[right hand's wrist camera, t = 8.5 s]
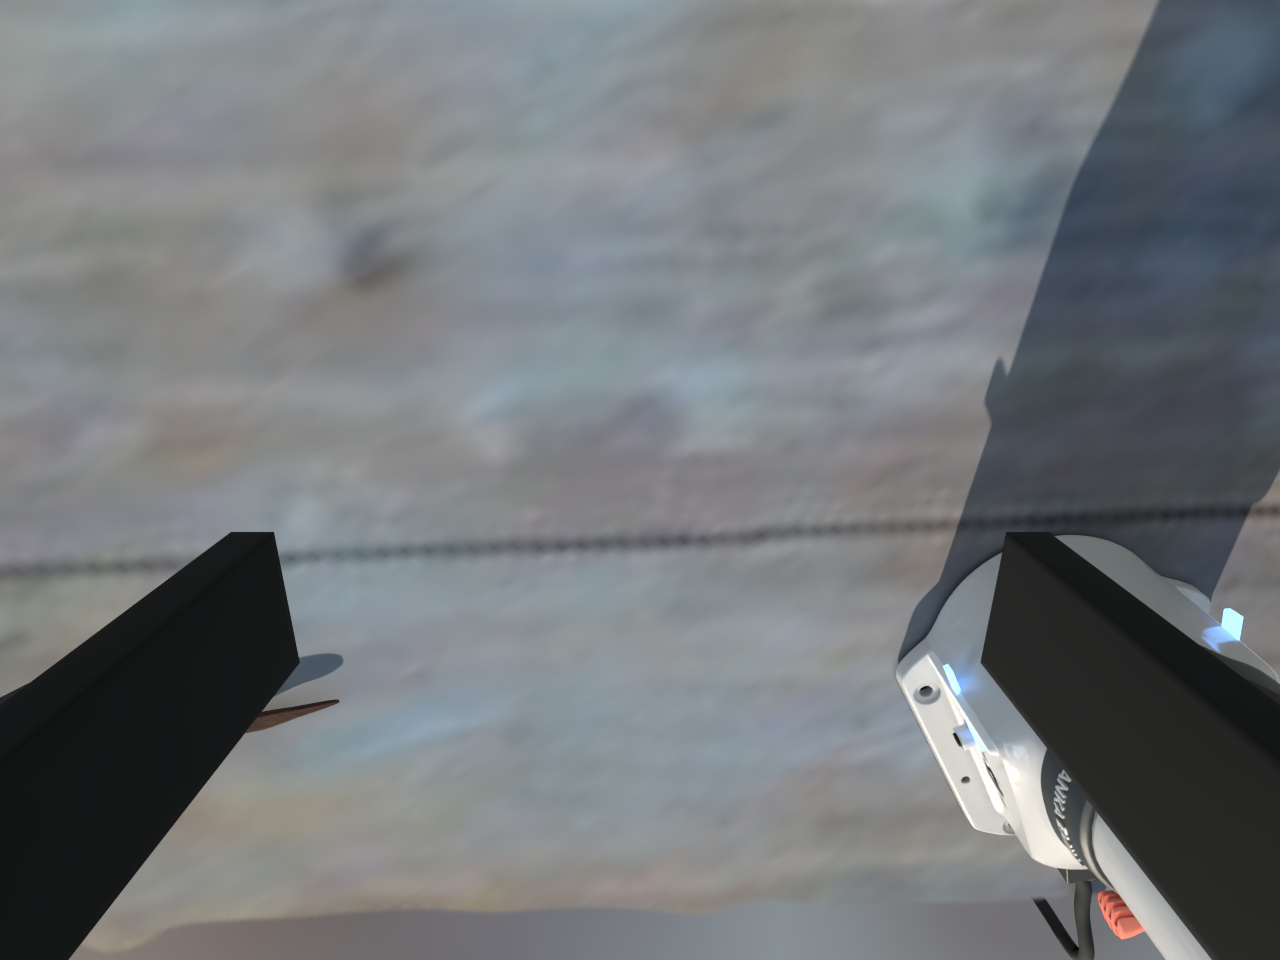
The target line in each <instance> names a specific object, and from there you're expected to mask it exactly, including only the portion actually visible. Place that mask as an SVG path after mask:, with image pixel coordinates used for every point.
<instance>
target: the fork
mask: <svg viewBox="0 0 1280 960" xmlns="http://www.w3.org/2000/svg"><path fill="white" fill-rule="evenodd" d="M337 703H339V700H329V701H323V702H317V703H312V704H306V705H301V706H295V707H289V708H283V709H276V710H270V711H264V712H261V713H260V714H259V716H258V717H257V718H256V719H255V721H254V722H253V723H252V725H251V726H250V727H249V728H248V730H247V731H246V732H245V733H250V732H255V731H260V730H264V729H267V728H270V727H273V726H276V725H279V724H281V723H284V722H287V721H290V720H292V719H295V718H298V717H301V716H304V715H306V714H309V713H312V712H315V711H318V710H321V709H324V708H327V707H329V706H332V705H335V704H337Z"/></svg>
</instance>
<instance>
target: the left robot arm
mask: <svg viewBox="0 0 1280 960" xmlns="http://www.w3.org/2000/svg"><path fill="white" fill-rule="evenodd" d="M1055 537H1056V538H1057V539H1059V540H1060V541H1061V542H1063V543H1064V544H1065V545H1067V546H1068V547H1069V548H1071V549H1072V550H1073V551H1075V552H1076V553H1077V554H1079V555H1080V556H1081V557H1083V558H1084V559H1085V560H1087V561H1088V562H1089V563H1091V564H1092V565H1093V566H1095V567H1096V568H1097V569H1099V570H1100V571H1101V572H1103V573H1104V574H1105V575H1107V576H1108V577H1110V578H1111V579H1112V580H1114V581H1115V582H1116V583H1118V584H1119V585H1120V586H1122V587H1123V588H1124V589H1126V590H1127V591H1128V592H1130V593H1131V594H1132V595H1134V596H1135V597H1136V598H1138V599H1139V600H1140V601H1142V602H1143V603H1144V604H1146V605H1147V606H1148V607H1150V608H1151V609H1152V610H1154V611H1155V612H1156V613H1158V614H1159V615H1160V616H1162V617H1163V618H1164V619H1166V620H1167V621H1168V622H1170V623H1171V624H1172V625H1174V626H1175V627H1176V628H1178V629H1179V630H1180V631H1182V632H1183V633H1184V634H1186V635H1187V636H1188V637H1190V638H1191V639H1192V640H1194V641H1195V642H1196V643H1198V644H1199V645H1200V646H1202V647H1203V648H1204V649H1206V650H1207V651H1208V652H1210V653H1211V654H1212V655H1214V656H1215V657H1216V658H1218V659H1219V660H1220V661H1222V662H1223V663H1224V664H1226V665H1227V666H1228V667H1230V668H1231V669H1232V670H1234V671H1235V672H1236V673H1238V674H1239V675H1240V676H1242V677H1243V678H1244V679H1246V680H1252V681H1254V682H1256V683H1258V684H1260V685H1262V686H1264V687H1266V688H1268V689H1270V690H1272V691H1274V692H1276V693H1278V694H1280V678H1279V676H1278V675H1277V673H1276V672H1275V671H1274V670H1273V668H1272V667H1270V666H1269V665H1268V664H1267V663H1266V662H1265V661H1264V660H1262V659H1261V658H1260V657H1259V656H1258V655H1257V654H1255V653H1254V652H1253V651H1252V650H1251V649H1250V648H1248V647H1247V646H1246V645H1245V644H1244V643H1243V642H1241V641H1240V640H1239V639H1240V634H1241V628H1242V622H1243V616H1241V615H1239V614H1238V613H1236V612H1235V611H1233V610H1232V609H1230V608H1229V609H1224V613H1223V619H1222V625H1221V624H1220V623H1219V622H1218V621H1216V620H1215V619H1214V618H1213V617H1212V616H1211V615H1210V611H1211V603H1210V600H1209V599H1208V598H1207V597H1206V596H1205V595H1204V594H1203V593H1202V592H1201V591H1199V590H1198V589H1197V588H1196V587H1194V586H1192V585H1190V584H1188V583H1185V582H1182V581H1178V580H1175V579H1171V578H1167V577H1163V576H1161V575H1159V574H1157V573H1156V572H1155V571H1153V570H1152V569H1151V568H1150V567H1149V566H1148V565H1147V564H1145V563H1144V562H1143V561H1142V560H1141V559H1140V558H1139V557H1138V556H1136V555H1135V554H1134V553H1132V552H1131V551H1129V550H1128V549H1126V548H1124V547H1122V546H1120V545H1118V544H1116V543H1113V542H1111V541H1108V540H1105V539H1101V538H1097V537H1091V536H1083V535H1059V536H1055ZM1001 556H1002V553H1000V554H998V555H996V556H994V557H993V558H991V559H989V560H988V561H986V562H985V563H983V564H982V565H981V566H979V567H978V568H977V569H975V570H974V571H973V572H972V573H971V574H970V575H968V576H967V577H966V578H965V579H964V580H963V581H962V582H961V583H960V584H959V586H958V587H957V588H956V589H955V590H954V591H953V593H952V594H951V595H950V597H949V598H948V600H947V601H946V603H945V604H944V606H943V608H942V609H941V611H940V613H939V615H938V617H937V619H936V621H935V623H934V625H933V627H932V629H931V631H930V632H929V634H928V635H927V636H926V638H925V639H924V640H922V641H921V642H920V643H919V644H918V645H917V646H916V647H914V648H913V649H912V650H911V651H910V652H909V653H908V654H907V655H906V656H905V657H904V658H903V659H902V660H901V662H900V663H899V664H898V666H897V669H896V677H897V680H898V682H899V684H900V686H901V688H902V690H903V692H904V694H905V696H906V698H907V700H908V702H909V704H910V706H911V708H912V710H913V712H914V714H915V716H916V718H917V720H918V722H919V724H920V726H921V728H922V730H923V732H924V734H925V736H926V738H927V740H928V742H929V744H930V746H931V748H932V750H933V752H934V754H935V756H936V758H937V760H938V762H939V764H940V766H941V768H942V770H943V772H944V774H945V776H946V778H947V780H948V782H949V784H950V786H951V788H952V790H953V792H954V794H955V796H956V798H957V800H958V802H959V804H960V806H961V808H962V810H963V812H964V814H965V816H966V817H967V818H968V820H969V821H970V823H971V824H972V826H973V827H974V828H975V829H977V830H980V831H984V832H988V833H993V834H1001V835H1017V837H1018V838H1019V840H1020V841H1021V843H1022V845H1023V846H1024V848H1025V849H1026V851H1027V852H1028V853H1029V855H1030V856H1031V857H1032V858H1033V859H1035V860H1036V861H1038V862H1040V863H1042V864H1045V865H1048V866H1051V867H1055V868H1058V870H1059V871H1060V873H1061V874H1062V876H1063V878H1064V879H1065V881H1066V882H1067V883H1068V884H1069V883H1075V882H1076V891H1075V898H1074V912H1075V921H1076V927H1077V934H1078V941H1079V947H1078V946H1077V945H1076V944H1075V943H1074V941H1073V940H1072V938H1071V937H1070V935H1069V934H1068V932H1067V931H1066V929H1065V928H1064V926H1063V925H1062V923H1061V922H1060V920H1059V918H1058V917H1057V915H1056V914H1055V912H1054V911H1053V909H1052V908H1051V906H1050V905H1049V903H1048V902H1047V900H1046V899H1045V898H1036V899H1032V900H1033V901H1034V903H1035V904H1036V906H1037V907H1038V909H1039V910H1040V912H1041V913H1042V915H1043V917H1044V918H1045V920H1046V921H1047V923H1048V924H1049V926H1050V928H1051V929H1052V931H1053V933H1054V934H1055V936H1056V938H1057V939H1058V941H1059V942H1060V944H1061V945H1062V947H1063V948H1064V950H1065V951H1066V952H1067V954H1068V955H1069V956H1070V957H1071V958H1072V959H1073V960H1093V959H1094V943H1093V936H1092V930H1091V922H1090V903H1091V895H1092V887H1091V881H1094V880H1096V879H1099V880H1100V881H1101V882H1102V883H1104V884H1105V885H1106V886H1107V887H1108V888H1110V889H1111V890H1113V891H1103V892H1099V893H1098V901H1099V905H1100V908H1101V910H1102V912H1103V915H1104V917H1105V919H1106V921H1107V922H1108V924H1109V926H1110V927H1111V929H1112V930H1113V931H1114V933H1115V934H1116V935H1117V936H1119V937H1120V938H1121V939H1125V938H1129V937H1131V936H1134V935H1136V934H1138V933H1141V932H1144V931H1146V933H1147V934H1148V936H1149V937H1150V938H1151V940H1152V941H1153V943H1154V944H1155V945H1156V947H1157V948H1158V949H1159V951H1160V952H1161V954H1162V955H1163V956H1164V958H1165V959H1166V960H1211V958H1210V957H1209V956H1208V954H1207V953H1206V952H1205V951H1204V949H1203V948H1202V947H1201V945H1200V944H1199V943H1198V942H1197V940H1196V939H1195V938H1194V936H1193V935H1192V934H1191V933H1190V931H1189V930H1188V929H1187V927H1186V926H1185V925H1184V924H1183V922H1182V921H1181V920H1180V918H1179V917H1178V916H1177V915H1176V913H1175V912H1174V911H1173V909H1172V908H1171V907H1170V906H1169V904H1168V903H1167V902H1166V900H1165V899H1164V898H1163V897H1162V895H1161V894H1160V893H1159V891H1158V890H1157V889H1156V888H1155V886H1154V885H1153V884H1152V883H1151V881H1150V880H1149V879H1148V877H1147V876H1146V875H1145V874H1144V872H1143V871H1142V870H1141V868H1140V867H1139V866H1138V865H1137V863H1136V862H1135V861H1134V859H1133V858H1132V857H1131V856H1130V854H1129V853H1128V852H1127V850H1126V849H1125V848H1124V847H1123V845H1122V844H1121V843H1120V841H1119V840H1118V839H1117V838H1116V836H1115V835H1114V834H1113V832H1112V831H1111V830H1110V829H1109V827H1108V826H1107V825H1106V823H1105V822H1104V821H1103V820H1102V818H1101V817H1100V816H1099V814H1098V813H1097V812H1096V811H1095V809H1094V808H1093V807H1092V805H1091V804H1090V803H1089V802H1088V800H1087V799H1086V798H1085V796H1084V795H1083V794H1082V793H1081V791H1080V790H1079V789H1078V787H1077V786H1076V785H1075V784H1074V782H1073V781H1072V780H1071V778H1070V777H1069V776H1068V775H1067V773H1066V772H1065V771H1064V770H1063V768H1062V767H1061V766H1060V764H1059V763H1058V762H1057V761H1056V759H1055V758H1054V757H1053V755H1052V754H1051V753H1050V752H1049V750H1048V749H1047V748H1046V746H1045V745H1044V744H1043V743H1042V741H1041V740H1040V739H1039V737H1038V736H1037V735H1036V734H1035V732H1034V731H1033V730H1032V728H1031V727H1030V726H1029V725H1028V723H1027V722H1026V721H1025V719H1024V718H1023V717H1022V716H1021V714H1020V713H1019V712H1018V710H1017V709H1016V708H1015V707H1014V705H1013V704H1012V703H1011V701H1010V700H1009V699H1008V698H1007V696H1006V695H1005V694H1004V692H1003V691H1002V690H1001V689H1000V687H999V686H998V685H997V683H996V682H995V681H994V680H993V678H992V677H991V676H990V674H989V673H988V672H987V671H986V669H985V668H984V667H983V666H982V664H981V663H980V662H981V657H982V652H983V647H984V642H985V636H986V631H987V626H988V621H989V616H990V611H991V606H992V601H993V596H994V591H995V586H996V581H997V576H998V571H999V566H1000V561H1001ZM924 686H928V687H927V688H926V689H923V690H920V689H921V688H922V687H924Z"/></svg>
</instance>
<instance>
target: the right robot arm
mask: <svg viewBox="0 0 1280 960" xmlns="http://www.w3.org/2000/svg"><path fill="white" fill-rule="evenodd" d="M299 663H300V662H299V657H298V652H297V647H296V642H295V636H294V631H293V626H292V621H291V616H290V611H289V606H288V601H287V596H286V591H285V586H284V581H283V576H282V571H281V566H280V561H279V556H278V551H277V546H276V541H275V535H274V532H231V533H229V534H228V535H227V536H225V537H224V538H223V539H221V540H220V541H219V542H217V543H216V544H215V545H213V546H212V547H211V548H209V549H208V550H207V551H205V552H204V553H203V554H201V555H200V556H199V557H197V558H196V559H195V560H193V561H192V562H191V563H189V564H188V565H187V566H185V567H184V568H183V569H181V570H180V571H179V572H177V573H176V574H175V575H173V576H172V577H171V578H169V579H168V580H166V581H165V582H164V583H162V584H161V585H160V586H158V587H157V588H156V589H154V590H153V591H152V592H150V593H149V594H148V595H146V596H145V597H144V598H142V599H141V600H140V601H138V602H137V603H136V604H134V605H133V606H132V607H130V608H129V609H128V610H126V611H125V612H124V613H122V614H121V615H120V616H118V617H117V618H116V619H114V620H113V621H112V622H110V623H109V624H108V625H106V626H105V627H104V628H102V629H101V630H100V631H98V632H97V633H96V634H94V635H93V636H92V637H90V638H89V639H88V640H86V641H85V642H84V643H82V644H81V645H80V646H78V647H77V648H76V649H74V650H73V651H72V652H70V653H69V654H68V655H66V656H65V657H64V658H62V659H61V660H60V661H58V662H57V663H56V664H54V665H53V666H52V667H50V668H49V669H48V670H46V671H45V672H44V673H42V674H41V675H40V676H38V677H37V678H36V679H34V680H33V681H32V682H30V683H28V684H26V685H24V686H22V687H20V688H18V689H16V690H14V691H12V692H10V693H8V694H6V695H4V696H2V697H0V960H69V958H70V957H71V956H72V954H73V953H74V952H75V951H76V949H77V948H78V947H79V945H80V944H81V943H82V942H83V940H84V939H85V938H86V936H87V935H88V934H89V933H90V931H91V930H92V929H93V927H94V926H95V925H96V924H97V922H98V921H99V920H100V918H101V917H102V916H103V915H104V913H105V912H106V911H107V909H108V908H109V907H110V906H111V904H112V903H113V902H114V900H115V899H116V898H117V897H118V895H119V894H120V893H121V891H122V890H123V889H124V888H125V886H126V885H127V884H128V883H129V881H130V880H131V879H132V877H133V876H134V875H135V874H136V872H137V871H138V870H139V868H140V867H141V866H142V865H143V863H144V862H145V861H146V859H147V858H148V857H149V856H150V854H151V853H152V852H153V850H154V849H155V848H156V847H157V845H158V844H159V843H160V841H161V840H162V839H163V838H164V836H165V835H166V834H167V832H168V831H169V830H170V829H171V827H172V826H173V825H174V823H175V822H176V821H177V820H178V818H179V817H180V816H181V814H182V813H183V812H184V811H185V809H186V808H187V807H188V805H189V804H190V803H191V802H192V800H193V799H194V798H195V796H196V795H197V794H198V793H199V791H200V790H201V789H202V787H203V786H204V785H205V784H206V782H207V781H208V780H209V778H210V777H211V776H212V775H213V773H214V772H215V771H216V770H217V768H218V767H219V766H220V764H221V763H222V762H223V761H224V759H225V758H226V757H227V755H228V754H229V753H230V752H231V750H232V749H233V748H234V746H235V745H236V744H237V743H238V741H239V740H240V739H241V737H242V736H243V735H244V734H245V732H246V731H247V730H248V728H249V727H250V726H251V725H252V723H253V722H254V721H255V719H256V718H257V717H258V716H259V714H260V713H261V712H262V710H263V709H264V708H265V707H266V705H267V704H268V703H269V701H270V700H271V699H272V698H273V696H274V695H275V694H276V692H277V691H278V690H279V689H280V687H281V686H282V685H283V683H284V682H285V681H286V680H287V678H288V677H289V676H290V674H291V673H292V672H293V671H294V669H295V668H296V667H297V666H298V664H299ZM980 663H981V664H982V666H983V667H984V668H985V669H986V671H987V672H988V673H989V674H990V676H991V677H992V678H993V680H994V681H995V682H996V683H997V685H998V686H999V687H1000V689H1001V690H1002V691H1003V692H1004V694H1005V695H1006V696H1007V698H1008V699H1009V700H1010V701H1011V703H1012V704H1013V705H1014V707H1015V708H1016V709H1017V710H1018V712H1019V713H1020V714H1021V716H1022V717H1023V718H1024V719H1025V721H1026V722H1027V723H1028V725H1029V726H1030V727H1031V728H1032V730H1033V731H1034V732H1035V734H1036V735H1037V736H1038V737H1039V739H1040V740H1041V741H1042V743H1043V744H1044V745H1045V746H1046V748H1047V749H1048V750H1049V752H1050V753H1051V754H1052V755H1053V757H1054V758H1055V759H1056V761H1057V762H1058V763H1059V764H1060V766H1061V767H1062V768H1063V770H1064V771H1065V772H1066V773H1067V775H1068V776H1069V777H1070V778H1071V780H1072V781H1073V782H1074V784H1075V785H1076V786H1077V787H1078V789H1079V790H1080V791H1081V793H1082V794H1083V795H1084V796H1085V798H1086V799H1087V800H1088V802H1089V803H1090V804H1091V805H1092V807H1093V808H1094V809H1095V811H1096V812H1097V813H1098V814H1099V816H1100V817H1101V818H1102V820H1103V821H1104V822H1105V823H1106V825H1107V826H1108V827H1109V829H1110V830H1111V831H1112V832H1113V834H1114V835H1115V836H1116V838H1117V839H1118V840H1119V841H1120V843H1121V844H1122V845H1123V847H1124V848H1125V849H1126V850H1127V852H1128V853H1129V854H1130V856H1131V857H1132V858H1133V859H1134V861H1135V862H1136V863H1137V865H1138V866H1139V867H1140V868H1141V870H1142V871H1143V872H1144V874H1145V875H1146V876H1147V877H1148V879H1149V880H1150V881H1151V883H1152V884H1153V885H1154V886H1155V888H1156V889H1157V890H1158V891H1159V893H1160V894H1161V895H1162V897H1163V898H1164V899H1165V900H1166V902H1167V903H1168V904H1169V906H1170V907H1171V908H1172V909H1173V911H1174V912H1175V913H1176V915H1177V916H1178V917H1179V918H1180V920H1181V921H1182V922H1183V924H1184V925H1185V926H1186V927H1187V929H1188V930H1189V931H1190V933H1191V934H1192V935H1193V936H1194V938H1195V939H1196V940H1197V942H1198V943H1199V944H1200V945H1201V947H1202V948H1203V949H1204V951H1205V952H1206V953H1207V954H1208V956H1209V957H1210V958H1211V960H1280V694H1278V693H1276V692H1274V691H1272V690H1270V689H1268V688H1266V687H1264V686H1262V685H1260V684H1258V683H1256V682H1254V681H1252V680H1246V679H1244V678H1243V677H1242V676H1240V675H1239V674H1238V673H1236V672H1235V671H1234V670H1232V669H1231V668H1230V667H1228V666H1227V665H1226V664H1224V663H1223V662H1222V661H1220V660H1219V659H1218V658H1216V657H1215V656H1214V655H1212V654H1211V653H1210V652H1208V651H1207V650H1206V649H1204V648H1203V647H1202V646H1200V645H1199V644H1198V643H1196V642H1195V641H1194V640H1192V639H1191V638H1190V637H1188V636H1187V635H1186V634H1184V633H1183V632H1182V631H1180V630H1179V629H1178V628H1176V627H1175V626H1174V625H1172V624H1171V623H1170V622H1168V621H1167V620H1166V619H1164V618H1163V617H1162V616H1160V615H1159V614H1158V613H1156V612H1155V611H1154V610H1152V609H1151V608H1150V607H1148V606H1147V605H1146V604H1144V603H1143V602H1142V601H1140V600H1139V599H1138V598H1136V597H1135V596H1134V595H1132V594H1131V593H1130V592H1128V591H1127V590H1126V589H1124V588H1123V587H1122V586H1120V585H1119V584H1118V583H1116V582H1115V581H1114V580H1112V579H1111V578H1110V577H1108V576H1107V575H1105V574H1104V573H1103V572H1101V571H1100V570H1099V569H1097V568H1096V567H1095V566H1093V565H1092V564H1091V563H1089V562H1088V561H1087V560H1085V559H1084V558H1083V557H1081V556H1080V555H1079V554H1077V553H1076V552H1075V551H1073V550H1072V549H1071V548H1069V547H1068V546H1067V545H1065V544H1064V543H1063V542H1061V541H1060V540H1059V539H1057V538H1056V537H1055V536H1053V535H1052V534H1051V533H1049V532H1006V536H1005V541H1004V546H1003V551H1002V556H1001V561H1000V566H999V571H998V576H997V581H996V586H995V591H994V596H993V601H992V606H991V611H990V616H989V621H988V626H987V631H986V636H985V642H984V647H983V652H982V657H981V662H980Z"/></svg>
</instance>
